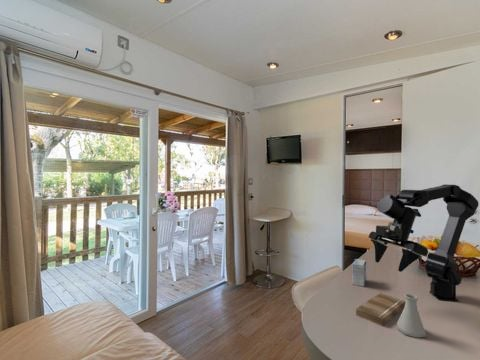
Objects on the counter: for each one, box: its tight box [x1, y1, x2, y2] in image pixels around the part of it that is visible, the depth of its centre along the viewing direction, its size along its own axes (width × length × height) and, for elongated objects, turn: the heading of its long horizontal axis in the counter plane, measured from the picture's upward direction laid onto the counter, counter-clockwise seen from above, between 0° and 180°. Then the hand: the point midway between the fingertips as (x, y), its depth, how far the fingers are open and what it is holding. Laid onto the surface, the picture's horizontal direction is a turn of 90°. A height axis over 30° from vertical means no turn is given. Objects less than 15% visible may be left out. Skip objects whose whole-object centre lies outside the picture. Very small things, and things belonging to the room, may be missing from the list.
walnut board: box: [355, 292, 406, 327], centre depth 84 cm, size 18×8×2 cm, turn 129°
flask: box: [396, 293, 427, 338], centre depth 73 cm, size 7×7×10 cm
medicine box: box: [351, 258, 367, 288], centre depth 107 cm, size 8×4×9 cm, turn 148°
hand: (387, 266), depth 87 cm, fingers open, 9 cm apart
